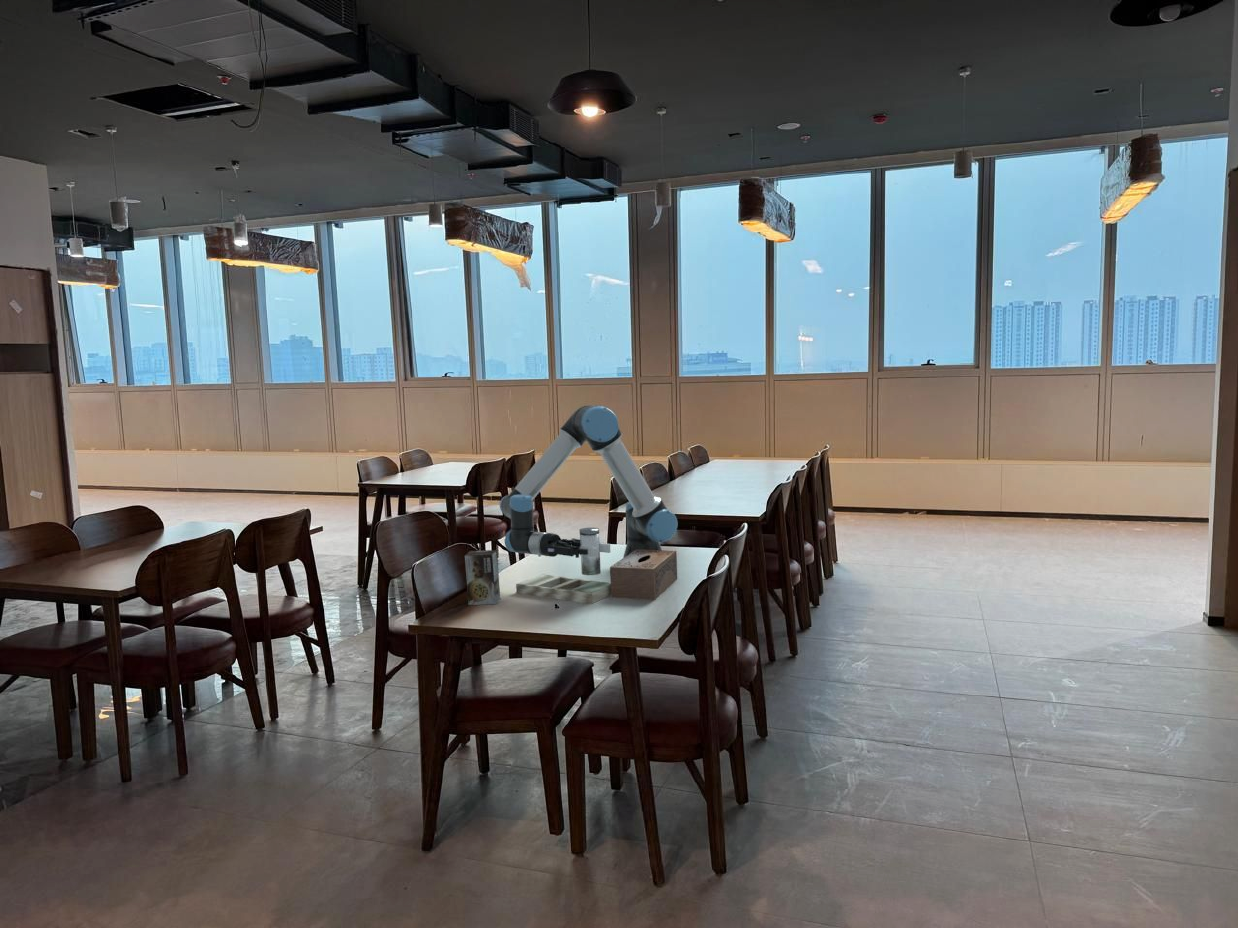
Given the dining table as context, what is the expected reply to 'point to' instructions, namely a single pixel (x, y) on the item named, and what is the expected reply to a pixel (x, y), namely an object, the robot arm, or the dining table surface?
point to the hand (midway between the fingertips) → (603, 550)
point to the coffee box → (482, 577)
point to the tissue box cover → (643, 574)
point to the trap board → (565, 588)
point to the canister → (591, 539)
